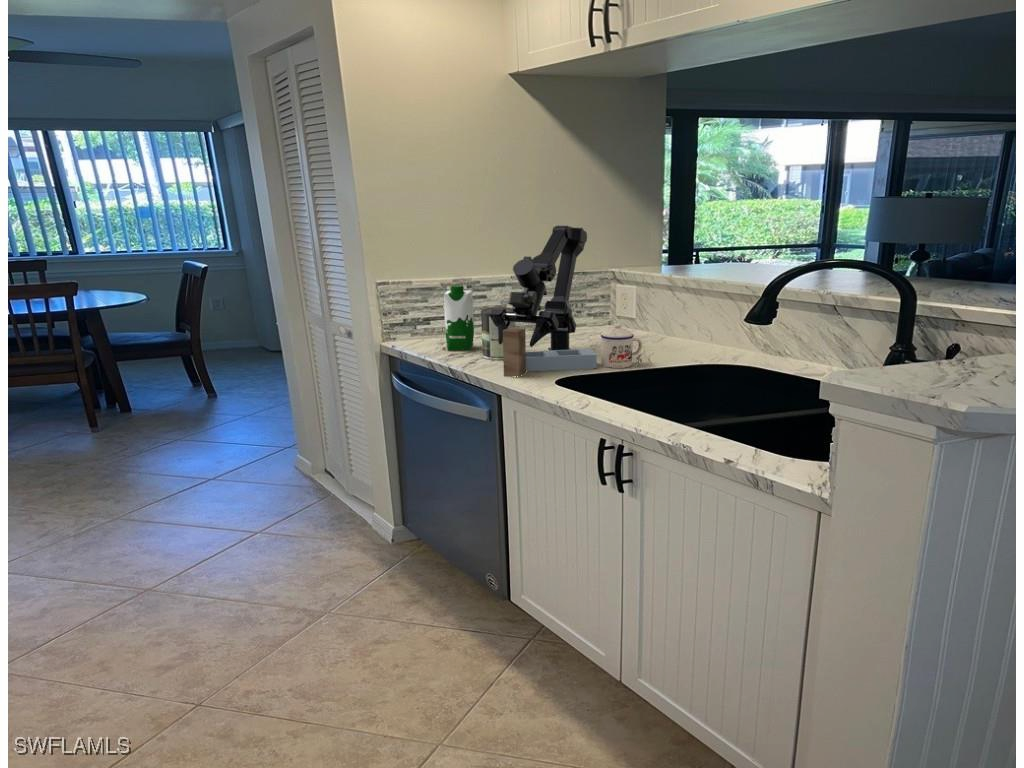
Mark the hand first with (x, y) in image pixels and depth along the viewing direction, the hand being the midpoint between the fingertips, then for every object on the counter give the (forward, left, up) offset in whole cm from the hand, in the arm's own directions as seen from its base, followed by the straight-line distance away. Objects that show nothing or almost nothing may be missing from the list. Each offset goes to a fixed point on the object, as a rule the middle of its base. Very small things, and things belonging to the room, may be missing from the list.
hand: (514, 344), depth 205 cm
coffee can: (-24, -2, -9) cm, 25 cm away
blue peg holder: (-6, +12, -8) cm, 16 cm away
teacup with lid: (-6, +31, -9) cm, 32 cm away
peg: (0, 0, -8) cm, 8 cm away
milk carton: (-38, -13, -9) cm, 41 cm away
